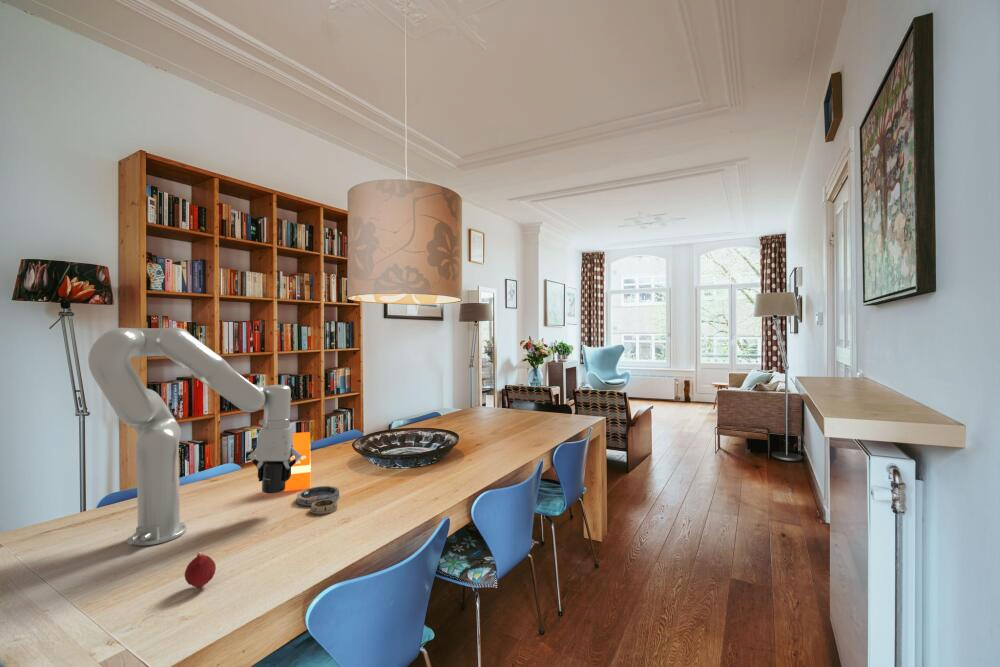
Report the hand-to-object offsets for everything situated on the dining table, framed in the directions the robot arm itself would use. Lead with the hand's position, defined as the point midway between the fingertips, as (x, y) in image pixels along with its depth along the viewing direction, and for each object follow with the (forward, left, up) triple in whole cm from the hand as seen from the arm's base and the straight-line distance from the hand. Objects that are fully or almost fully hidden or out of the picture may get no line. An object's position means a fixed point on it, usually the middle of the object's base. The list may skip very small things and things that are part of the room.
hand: (274, 479), depth 143 cm
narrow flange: (+1, -15, -11) cm, 18 cm away
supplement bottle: (0, 0, -4) cm, 4 cm away
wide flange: (+11, -10, -11) cm, 19 cm away
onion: (-42, -1, -11) cm, 43 cm away
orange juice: (+25, +2, -11) cm, 28 cm away
